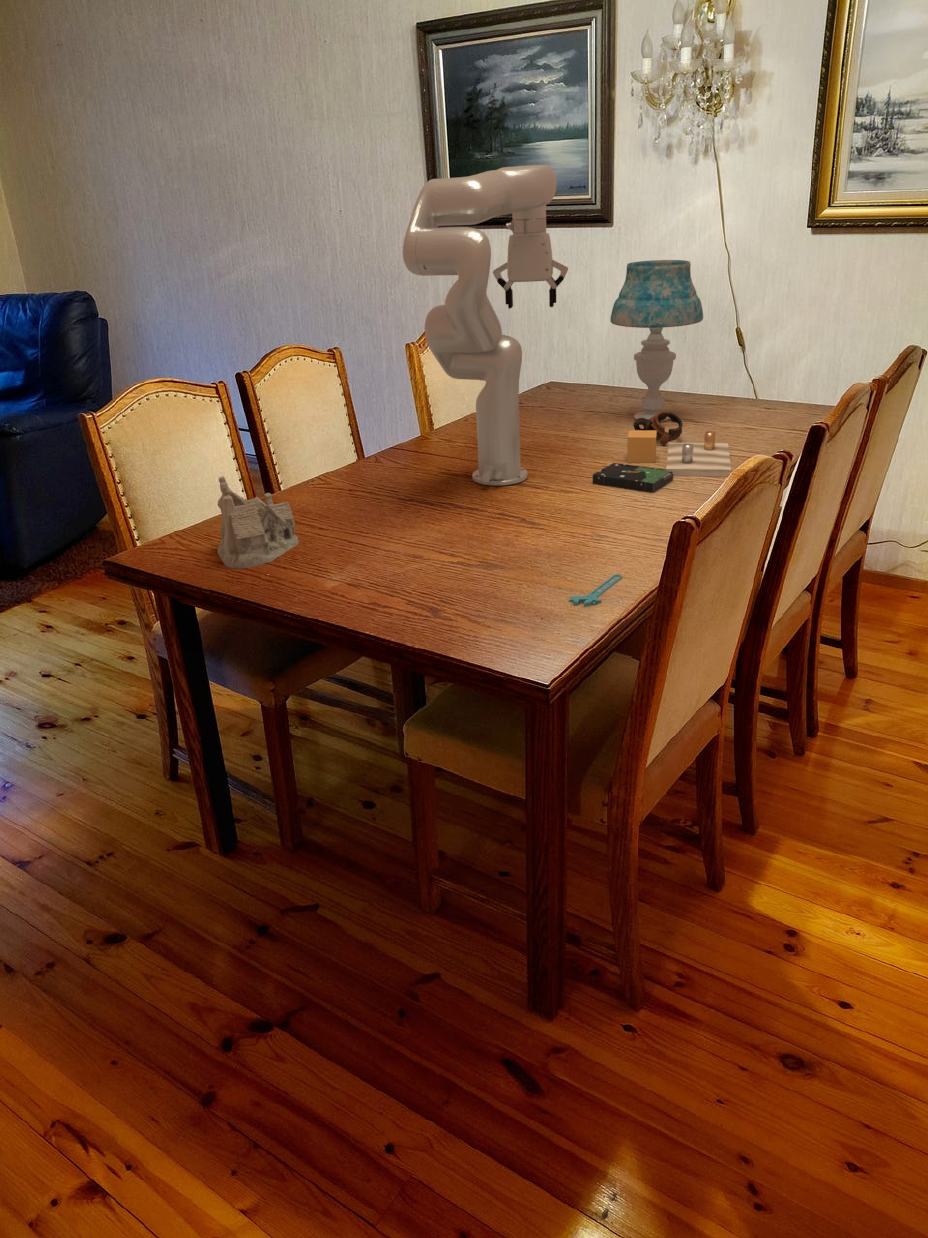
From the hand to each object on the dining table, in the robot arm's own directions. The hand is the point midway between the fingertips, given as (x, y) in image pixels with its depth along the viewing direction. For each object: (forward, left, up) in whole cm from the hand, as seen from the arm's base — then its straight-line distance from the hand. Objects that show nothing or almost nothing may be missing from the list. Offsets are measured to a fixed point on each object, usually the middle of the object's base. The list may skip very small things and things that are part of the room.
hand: (531, 306), depth 214 cm
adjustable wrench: (-83, -24, -35) cm, 93 cm away
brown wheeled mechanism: (+10, -30, -35) cm, 47 cm away
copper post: (-3, -42, -33) cm, 54 cm away
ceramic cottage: (-71, +42, -35) cm, 90 cm away
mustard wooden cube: (-6, -27, -34) cm, 44 cm away
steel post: (-14, -37, -33) cm, 52 cm away
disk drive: (-24, -26, -35) cm, 50 cm away
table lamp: (+33, -28, -34) cm, 55 cm away
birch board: (-8, -40, -34) cm, 53 cm away
